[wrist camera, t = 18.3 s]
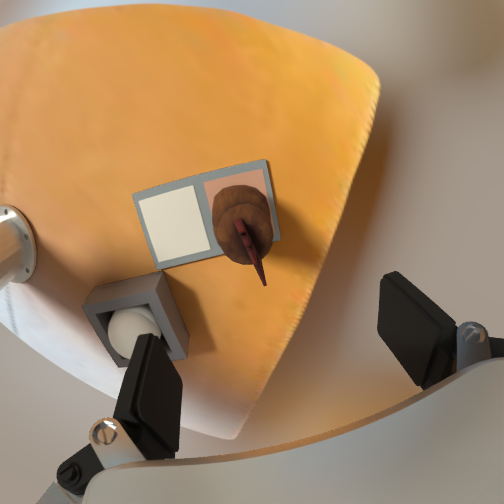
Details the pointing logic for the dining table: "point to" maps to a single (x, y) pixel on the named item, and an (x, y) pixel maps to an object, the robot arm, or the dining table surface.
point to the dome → (131, 327)
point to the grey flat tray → (194, 212)
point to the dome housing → (133, 294)
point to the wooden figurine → (243, 225)
